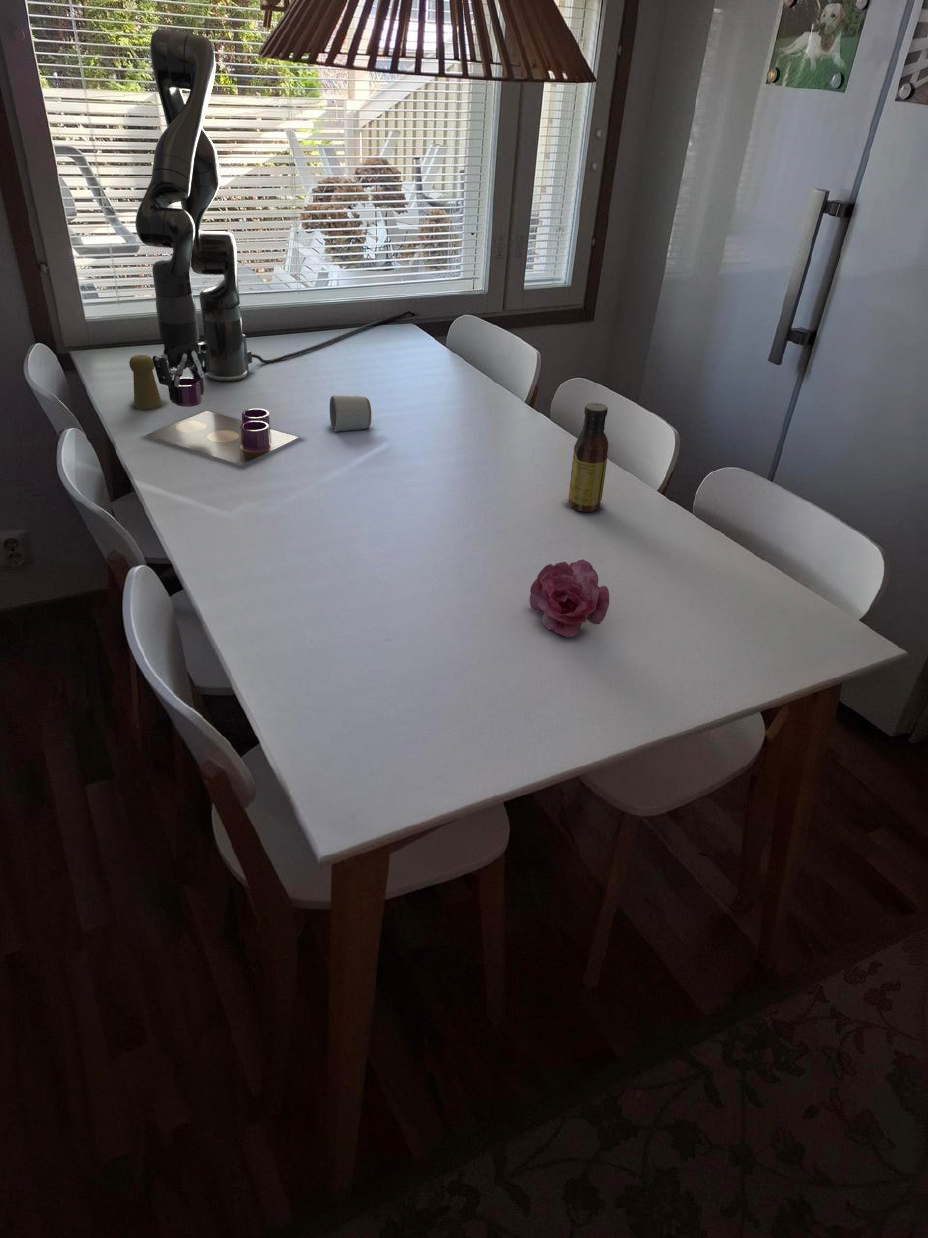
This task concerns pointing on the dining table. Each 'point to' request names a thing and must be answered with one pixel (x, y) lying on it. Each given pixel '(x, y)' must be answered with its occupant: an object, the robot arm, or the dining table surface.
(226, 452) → the metal board
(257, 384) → the dining table surface
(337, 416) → the ceramic mug
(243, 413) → the plum dish
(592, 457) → the sauce bottle
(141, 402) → the yellow pawn figure
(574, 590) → the flower
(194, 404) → the plum dish
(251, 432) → the plum dish
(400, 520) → the dining table surface
